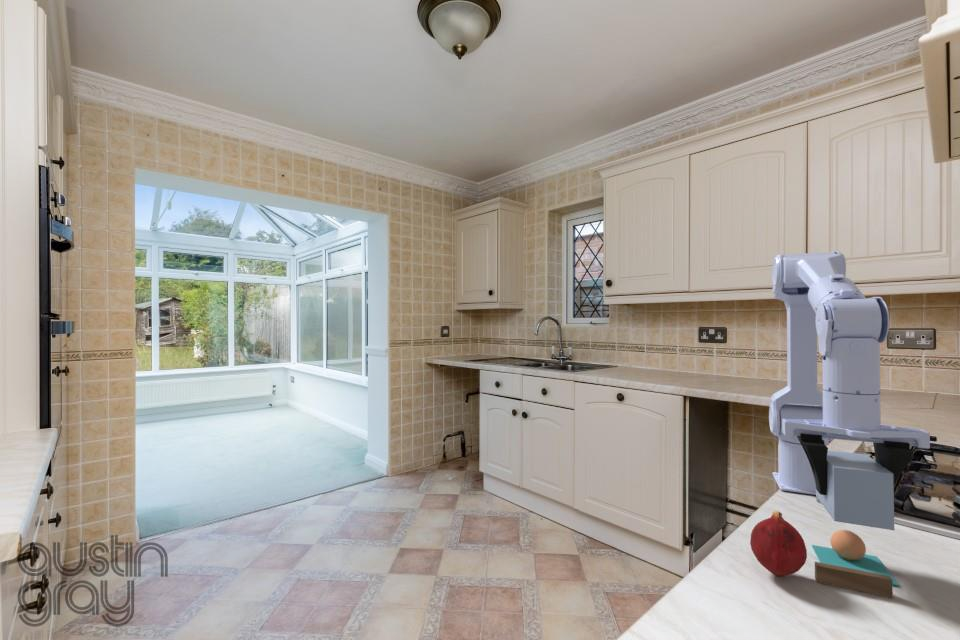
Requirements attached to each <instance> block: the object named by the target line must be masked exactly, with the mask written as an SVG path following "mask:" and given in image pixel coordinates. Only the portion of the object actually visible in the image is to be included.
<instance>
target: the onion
mask: <svg viewBox="0 0 960 640" xmlns="http://www.w3.org/2000/svg"><path fill="white" fill-rule="evenodd" d="M771 514H772V515H771V516H770V517H768V518H765V519H763V520H761V521H759V522H758V523H757V524H755V525H754V527H753V529H752V531H751V533H750V541H749V543H750V548H751V551H752V553H753V555H754V557H755V558H756V560H757V561H758V563H760V565H761V566H762V567H763V568H764V569H766V570H767V571H768V572H770V573H771V574H772V575H773V576H775V577H777V578H783V577H785V576H790V575H794V574H796V573H798V572H799V571H800V570H801V569H802V567H803V566H804V565H805V564H806V561H807V558H808V555H807V554H808V553H807V552H808V551H807V546H806V544H805V543H806V542H805V541H804V539H803V537H802V535H801V534H800V533H799V531H798V530H797V529H796V527H794V526H793V525H792V524H791V523H790V522H788V521H787V520H785V518H783V516H782V515H783V514H782V512H780V511H779V510H777V509H776V510H774V511H772V513H771Z"/></svg>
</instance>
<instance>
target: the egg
mask: <svg viewBox="0 0 960 640" xmlns="http://www.w3.org/2000/svg"><path fill="white" fill-rule="evenodd" d="M829 543H830V546H831V548H833V550H834V551H835V552H836V553H837V554H838V555H839V556H841V557H842V558H844V559H847V560H859V559H861V558H862V557H863V556H864V555H865V554H866V553H867V547H866V543H865V542H864V541H863V539H862V538H861V537H860V536H859V535H858V534H857V533H855V532H854V531H853V532H852V531H850V530H847V529H839V530H836V531H834V532H833V533H832V534H831V536H830V541H829Z"/></svg>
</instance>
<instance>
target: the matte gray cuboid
mask: <svg viewBox="0 0 960 640" xmlns="http://www.w3.org/2000/svg"><path fill="white" fill-rule="evenodd" d="M826 480H827V495H821V494H819V492H818V491H817V490H816V495H815V497H816V499H817V500H818V501H819V502H820V503H821V505H822V506H823V508H824V509H825V510H826V512H827V513H828V514H829V516H830V517H831V518H832V520H833V521H834V522H836V523H837V522H838V523H843V524H850V525H856V526H862V527H863V526H864V527H870V528H875V529H884V530H890V531H895V500H894V499H895V496H894V494H895V493H894V491H895V490H894V489H895V486H894V483H893V473H891V472H890V471H889V470H887V469H886V468H884V467H883V466H882V465H880V464H879V463H878V462H876V460H874V458H872V457H871V456H869V455H868V454H865V453H858V452H857V453H856V452H844V451H835V450H828V452H827V460H826Z"/></svg>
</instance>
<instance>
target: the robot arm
mask: <svg viewBox="0 0 960 640" xmlns="http://www.w3.org/2000/svg"><path fill="white" fill-rule="evenodd" d="M846 272H847V261H846V257H845V255H844V254H843V253H842V252H841V251H840V250H834V251H827V252H810V253H808V252H807V253H795V254H793V253H792V254H781V253H779V254H777V255H776V256H775V257H774V258H773V261H772V272H771V273H772V294H773V298H774V299H775V300H778V301H782V302H783V303H784V306H785V309H786V310H785V311H786V349H787V350H786V357H787V358H786V361H787V362H786V365H787V366H786V367H787V368H786V375H787V377H786V378H787V381H786V382H787V385H786V386H785V387H783V388H781V389H779V390H777V391H776V392H775V393H773V394H772V395H771V397H770V400H769V401H770V403H769V409H768V422H769V428H770V433H771V434H772V435H773V436H776V437H777V438H778V445H777V452H778V453H777V462H778V463H777V468H778V470H777V471H778V472H776V471H773V472H772V474H771V475H772V476H773V478H774V479H775V482H776V484H777V485H778V488H779V489H780V490H781V488H782V487H783V486H784V485H785V484H786V483H787V485H786V486H784V487H783V488H782V490H781V491H785V492H790V493H791V492H792V493H800V494H806V495H807V494H808V495H815V496H816V490H817V491H818V492H819V494H821V495H827V480H826V460H827V452H828V451H829V447H827V446H829V445H830V442H831V441H834V440H844V441H852V442H853V441H855V442H856V441H857V442H863V443H865V442H866V443H872V445H873V450H874V459H875V461H876V462H878V463H879V464H880V465H882V466H883V467H884V468H886V469H887V470H889V471H890V472H891V473H893V483H894V487H895V486H896V484H897V482H898V480H899V477H900V476H901V474H903V471H904V470H905V469H906V468H907V467H908V465H909V464H910V463H911V461H913V459H914V456H915V451H914V449H911V448H910V447H912V446H913V447H916V448H919V449H930V448H931V440H930V439H931V434H930V432H928V431H926V430H924V429H923V428H922V429H921V428H911V427H902V426H894V425H886V424H882V423H881V419H882V418H881V344H882V343H884V342H885V341H886V339H887V337H888V335H889V330H890V313H889V309H888V306H887V303H886V302H885V301H884V299H883V297H881V296H872V297H866V296H865V294H863V292H862V291H861V290H860V288H859V287H858V286H857V285H856V284H855V283H854V282H853V280H852V279H850V278H848V277H846V276H847V275H846V274H847V273H846ZM818 353H819V354H820V355H822V357H821V358H822V359H821V360H822V365H821V366H822V369H821V370H822V391H821V390H819V389H818Z"/></svg>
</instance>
